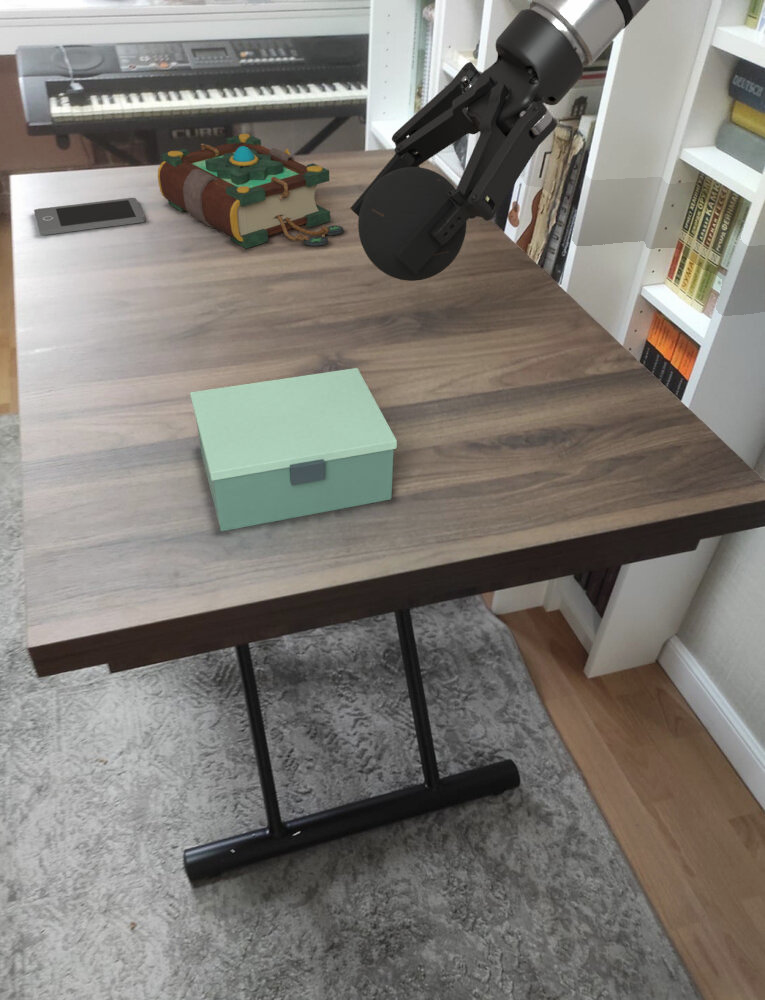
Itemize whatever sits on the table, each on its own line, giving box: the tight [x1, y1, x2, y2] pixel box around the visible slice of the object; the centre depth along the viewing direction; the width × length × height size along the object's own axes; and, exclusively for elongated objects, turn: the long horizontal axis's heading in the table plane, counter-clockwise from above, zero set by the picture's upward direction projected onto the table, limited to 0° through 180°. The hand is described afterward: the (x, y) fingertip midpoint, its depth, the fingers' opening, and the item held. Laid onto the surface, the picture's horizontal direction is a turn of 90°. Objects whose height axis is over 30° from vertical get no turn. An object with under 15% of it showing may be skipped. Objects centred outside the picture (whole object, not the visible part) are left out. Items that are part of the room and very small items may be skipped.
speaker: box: [357, 167, 467, 282], centre depth 77 cm, size 10×10×10 cm
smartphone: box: [33, 197, 146, 236], centre depth 124 cm, size 15×8×1 cm, turn 113°
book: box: [157, 133, 344, 249], centre depth 123 cm, size 27×21×10 cm
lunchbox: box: [189, 367, 398, 532], centre depth 78 cm, size 16×13×7 cm
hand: (381, 240), depth 77 cm, fingers closed on speaker, 10 cm apart
